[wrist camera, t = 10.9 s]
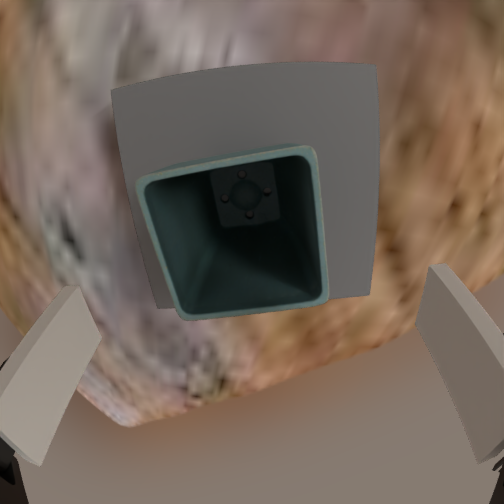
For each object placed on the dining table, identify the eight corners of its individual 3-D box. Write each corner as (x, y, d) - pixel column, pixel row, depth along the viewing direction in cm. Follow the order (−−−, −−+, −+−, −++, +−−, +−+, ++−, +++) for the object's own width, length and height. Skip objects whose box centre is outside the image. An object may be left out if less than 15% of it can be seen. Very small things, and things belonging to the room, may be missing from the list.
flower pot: (202, 254, 26) (179, 324, 18) (176, 150, 22) (130, 179, 14) (308, 238, 25) (330, 305, 17) (294, 128, 21) (316, 143, 13)
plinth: (360, 69, 22) (376, 64, 18) (358, 273, 31) (369, 295, 27) (130, 90, 23) (110, 90, 20) (167, 285, 32) (157, 308, 29)
